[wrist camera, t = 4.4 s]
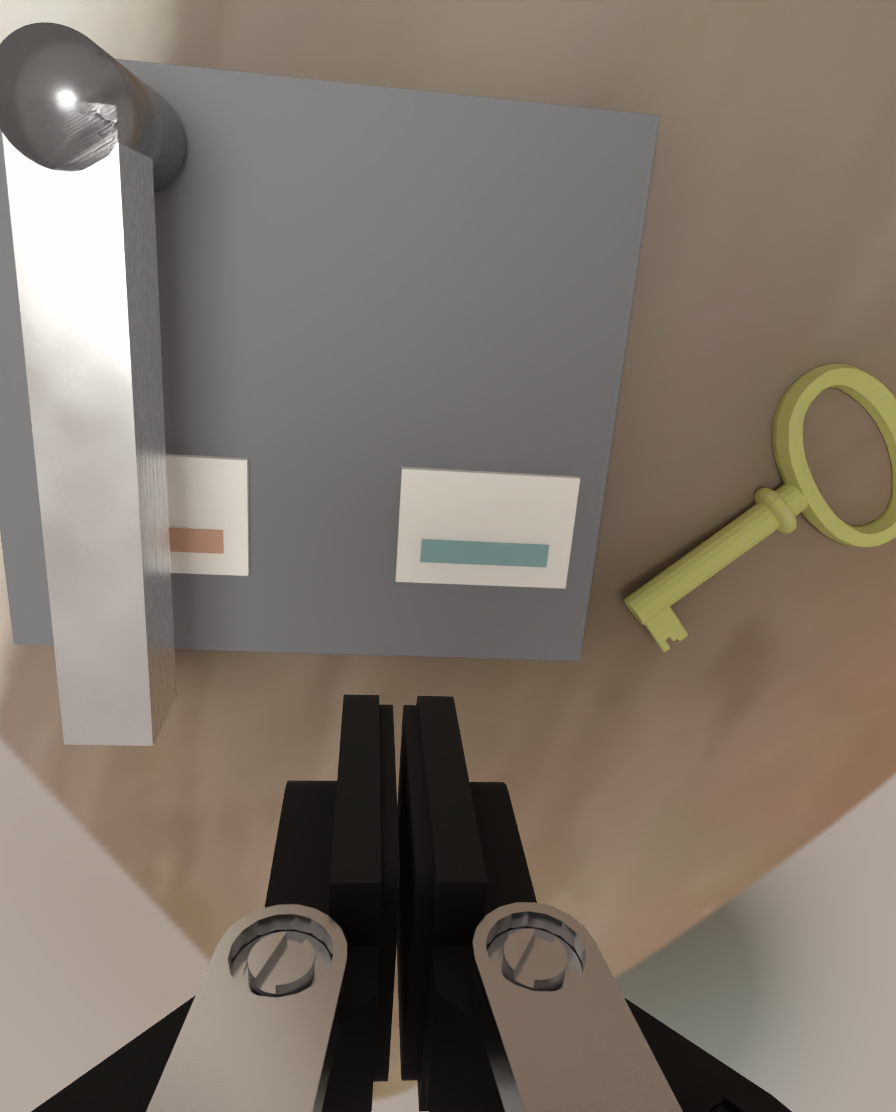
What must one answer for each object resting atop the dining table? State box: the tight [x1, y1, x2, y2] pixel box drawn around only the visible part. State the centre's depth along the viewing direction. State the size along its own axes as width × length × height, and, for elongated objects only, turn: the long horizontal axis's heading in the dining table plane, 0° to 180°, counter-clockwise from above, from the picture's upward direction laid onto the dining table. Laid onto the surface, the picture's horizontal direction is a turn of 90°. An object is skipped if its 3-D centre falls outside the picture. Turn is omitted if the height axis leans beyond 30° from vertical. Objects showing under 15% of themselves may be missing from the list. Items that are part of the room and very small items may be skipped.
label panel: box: [0, 59, 660, 661], centre depth 26 cm, size 20×18×2 cm
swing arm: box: [0, 23, 186, 746], centre depth 22 cm, size 3×17×6 cm, turn 176°
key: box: [624, 364, 896, 652], centre depth 29 cm, size 7×12×2 cm, turn 143°
